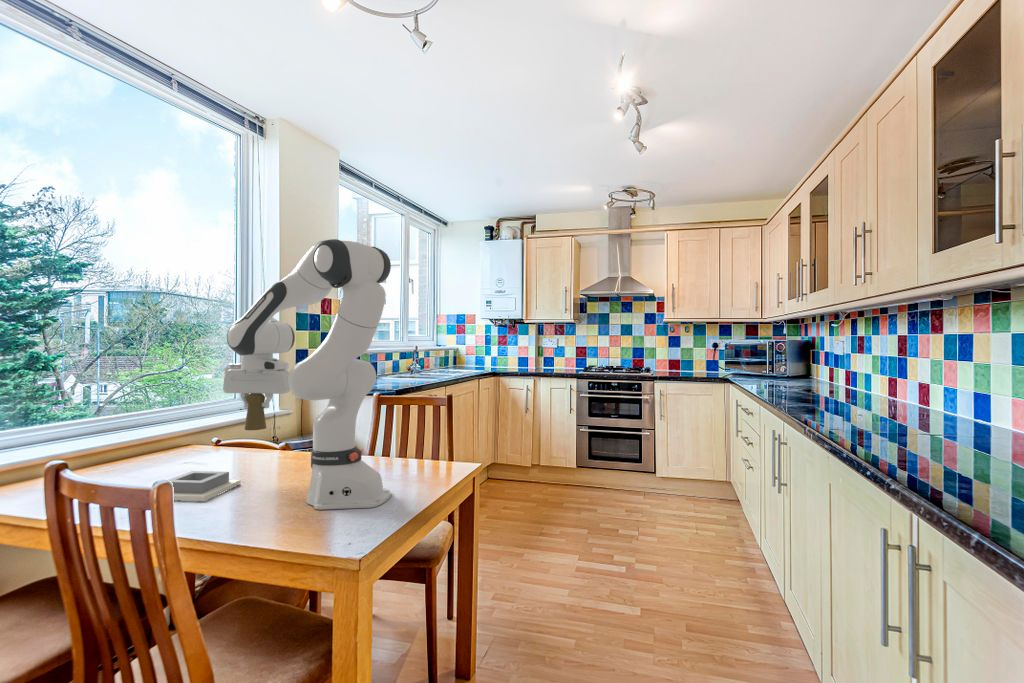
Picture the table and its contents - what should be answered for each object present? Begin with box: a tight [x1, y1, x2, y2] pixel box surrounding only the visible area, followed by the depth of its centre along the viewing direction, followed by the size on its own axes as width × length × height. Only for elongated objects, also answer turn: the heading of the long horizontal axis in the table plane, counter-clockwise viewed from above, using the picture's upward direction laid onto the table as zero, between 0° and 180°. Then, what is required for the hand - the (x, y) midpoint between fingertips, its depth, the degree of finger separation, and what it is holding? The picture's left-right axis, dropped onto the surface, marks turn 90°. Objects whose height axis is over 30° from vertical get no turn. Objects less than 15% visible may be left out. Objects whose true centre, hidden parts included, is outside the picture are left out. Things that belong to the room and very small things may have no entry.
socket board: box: [168, 470, 241, 502], centre depth 141 cm, size 16×16×4 cm
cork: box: [244, 393, 267, 431], centre depth 151 cm, size 6×6×11 cm
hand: (256, 408), depth 152 cm, fingers closed on cork, 4 cm apart
